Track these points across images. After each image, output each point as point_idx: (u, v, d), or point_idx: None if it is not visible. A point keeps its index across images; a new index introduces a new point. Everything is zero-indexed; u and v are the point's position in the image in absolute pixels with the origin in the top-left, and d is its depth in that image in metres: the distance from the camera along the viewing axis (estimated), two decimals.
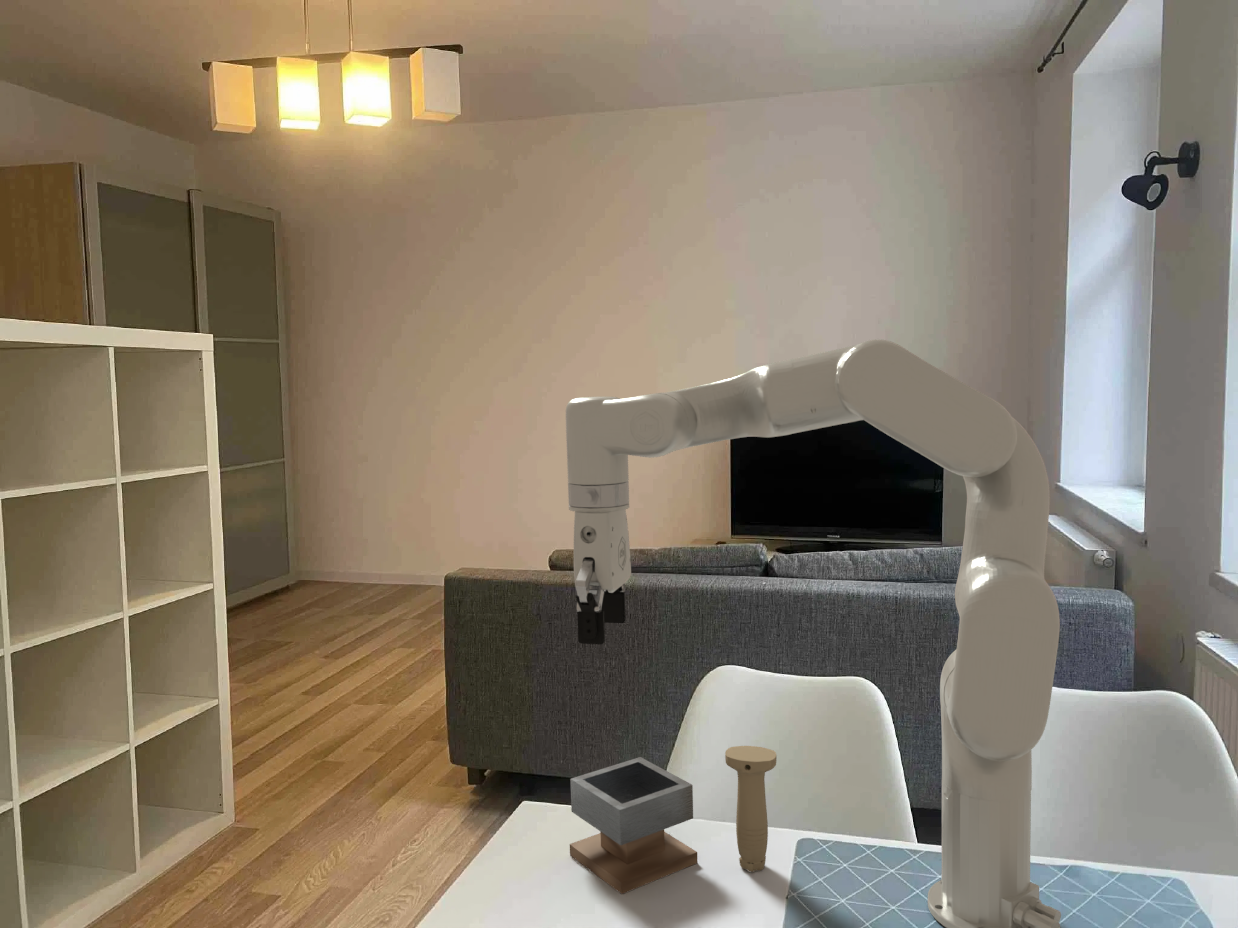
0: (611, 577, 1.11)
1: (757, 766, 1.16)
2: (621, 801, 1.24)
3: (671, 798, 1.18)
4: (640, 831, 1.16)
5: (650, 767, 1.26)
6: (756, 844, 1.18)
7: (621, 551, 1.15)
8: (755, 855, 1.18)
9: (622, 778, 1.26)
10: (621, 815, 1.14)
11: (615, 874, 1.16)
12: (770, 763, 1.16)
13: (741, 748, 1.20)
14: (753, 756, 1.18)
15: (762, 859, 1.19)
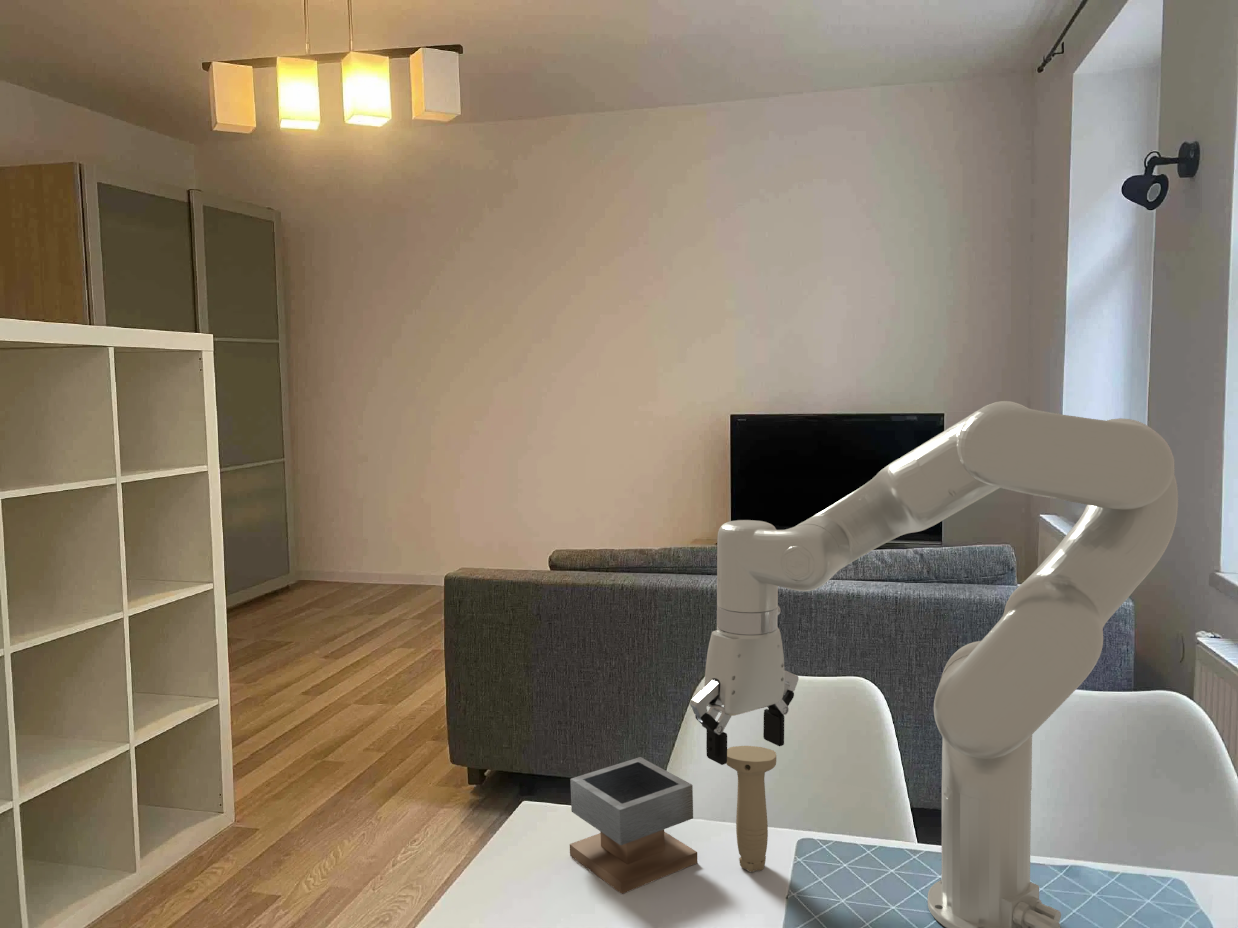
0: None
1: (757, 766, 1.16)
2: (621, 801, 1.24)
3: (671, 798, 1.18)
4: (640, 831, 1.16)
5: (650, 767, 1.26)
6: (756, 844, 1.18)
7: None
8: (755, 855, 1.18)
9: (622, 778, 1.26)
10: (621, 815, 1.14)
11: (615, 874, 1.16)
12: (770, 763, 1.16)
13: (741, 748, 1.20)
14: (753, 756, 1.18)
15: (762, 859, 1.19)
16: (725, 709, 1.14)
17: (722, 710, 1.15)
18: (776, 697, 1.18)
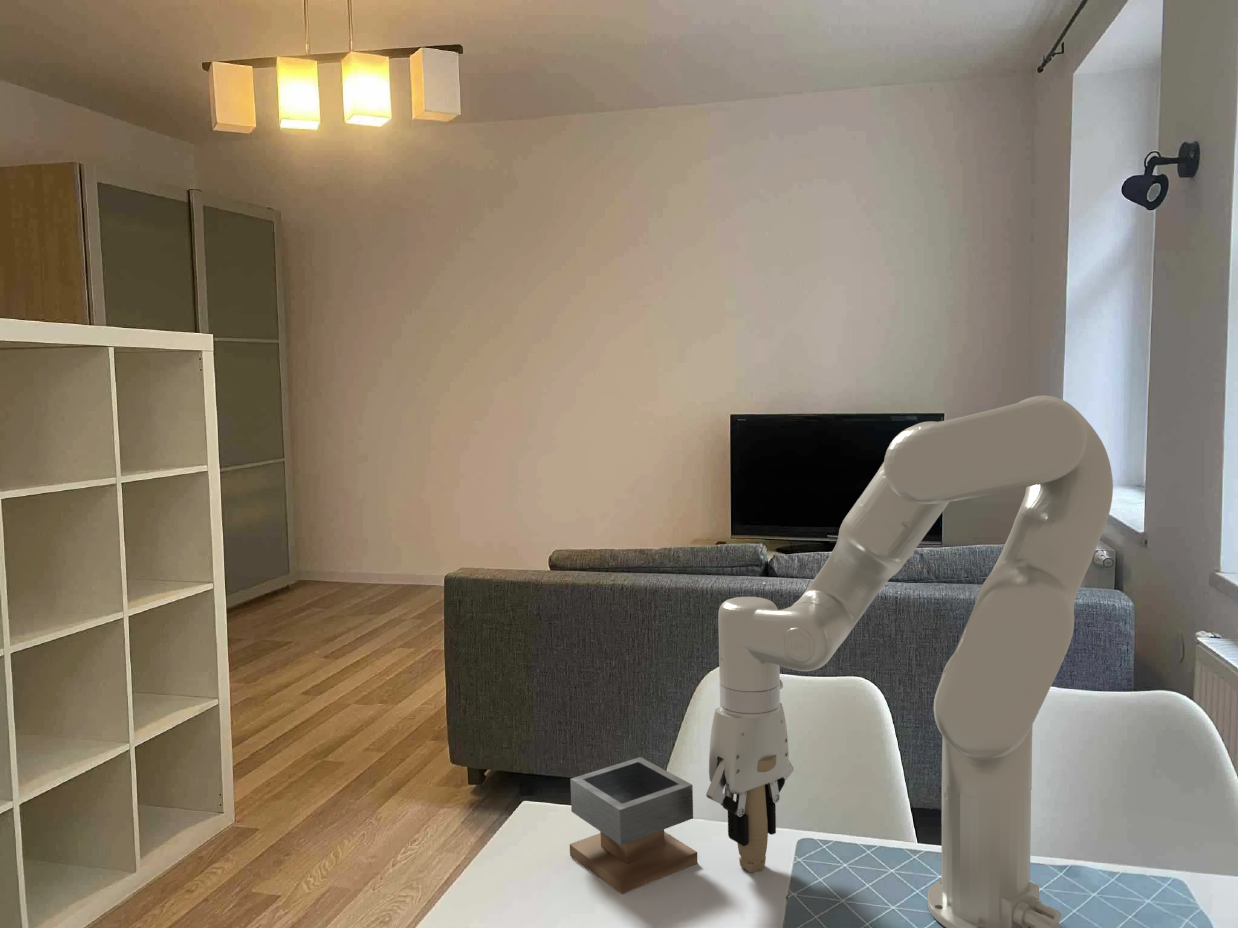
0: None
1: (757, 766, 1.16)
2: (621, 801, 1.24)
3: (671, 798, 1.18)
4: (640, 831, 1.16)
5: (650, 767, 1.26)
6: (756, 844, 1.18)
7: None
8: (755, 855, 1.18)
9: (622, 778, 1.26)
10: (621, 815, 1.14)
11: (615, 874, 1.16)
12: (770, 763, 1.16)
13: None
14: None
15: (762, 859, 1.19)
16: (730, 788, 1.15)
17: None
18: (781, 772, 1.19)
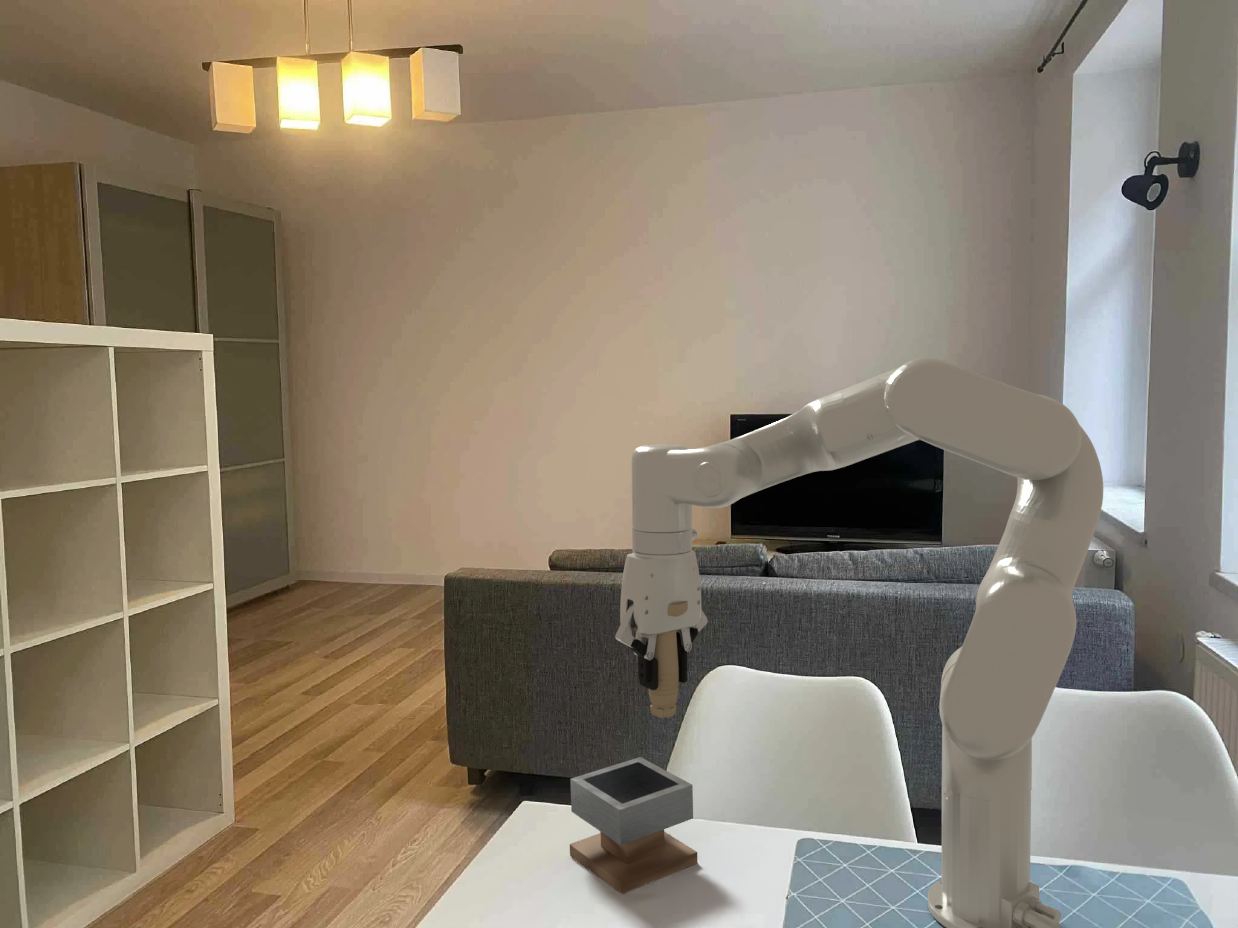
0: None
1: None
2: (621, 801, 1.24)
3: (671, 798, 1.18)
4: (640, 831, 1.16)
5: (650, 767, 1.26)
6: (666, 690, 1.18)
7: None
8: (665, 701, 1.18)
9: (622, 778, 1.26)
10: (621, 815, 1.14)
11: (615, 874, 1.16)
12: (680, 607, 1.16)
13: None
14: None
15: (672, 706, 1.19)
16: (638, 629, 1.15)
17: (646, 637, 1.17)
18: (692, 620, 1.19)
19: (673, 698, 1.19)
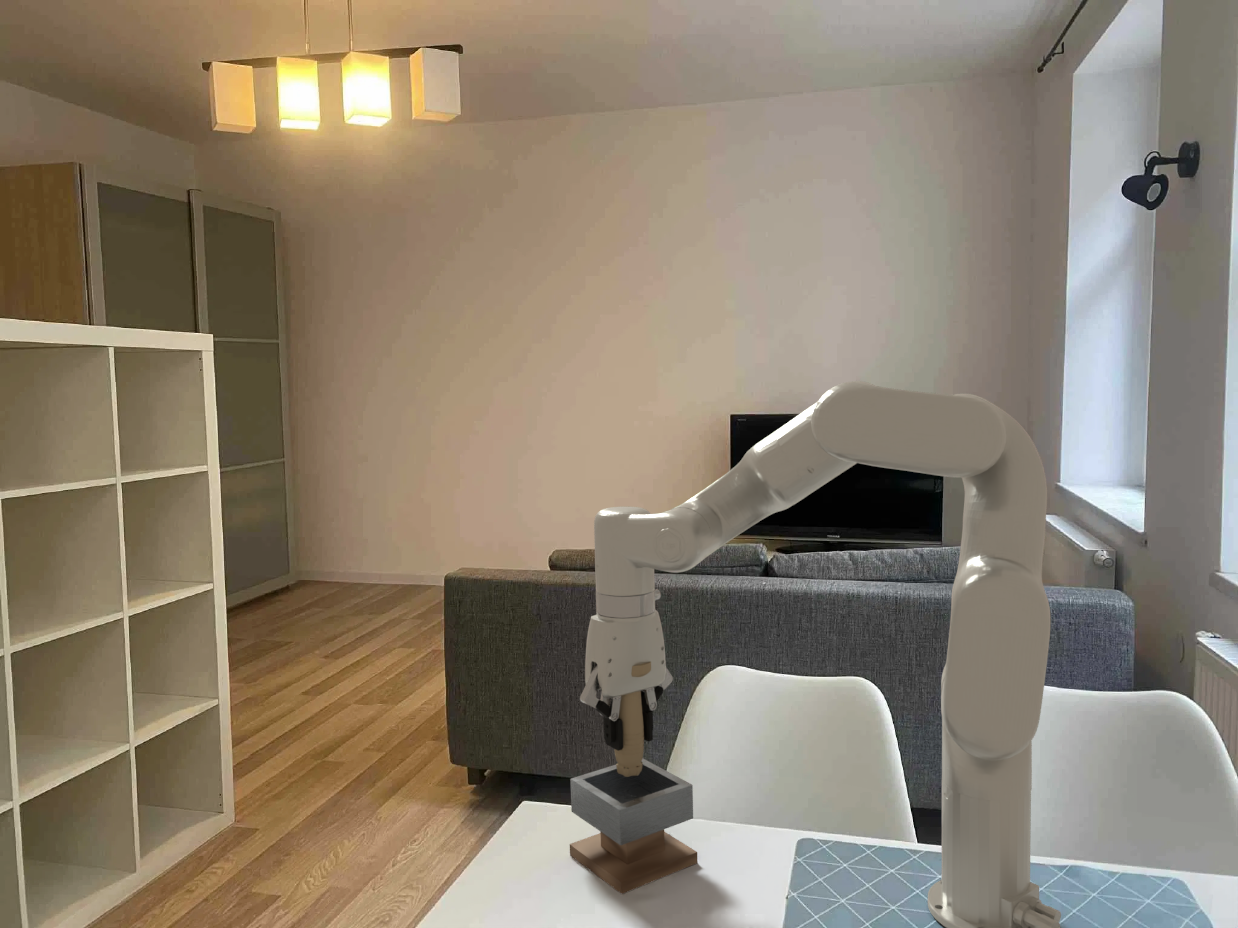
0: None
1: None
2: (621, 801, 1.24)
3: (671, 798, 1.18)
4: (640, 831, 1.16)
5: (650, 767, 1.26)
6: (631, 749, 1.19)
7: None
8: (630, 760, 1.20)
9: (622, 778, 1.26)
10: (621, 815, 1.14)
11: (615, 874, 1.16)
12: (644, 668, 1.18)
13: None
14: None
15: (638, 764, 1.20)
16: (602, 691, 1.16)
17: (610, 698, 1.18)
18: (657, 679, 1.21)
19: (638, 757, 1.20)
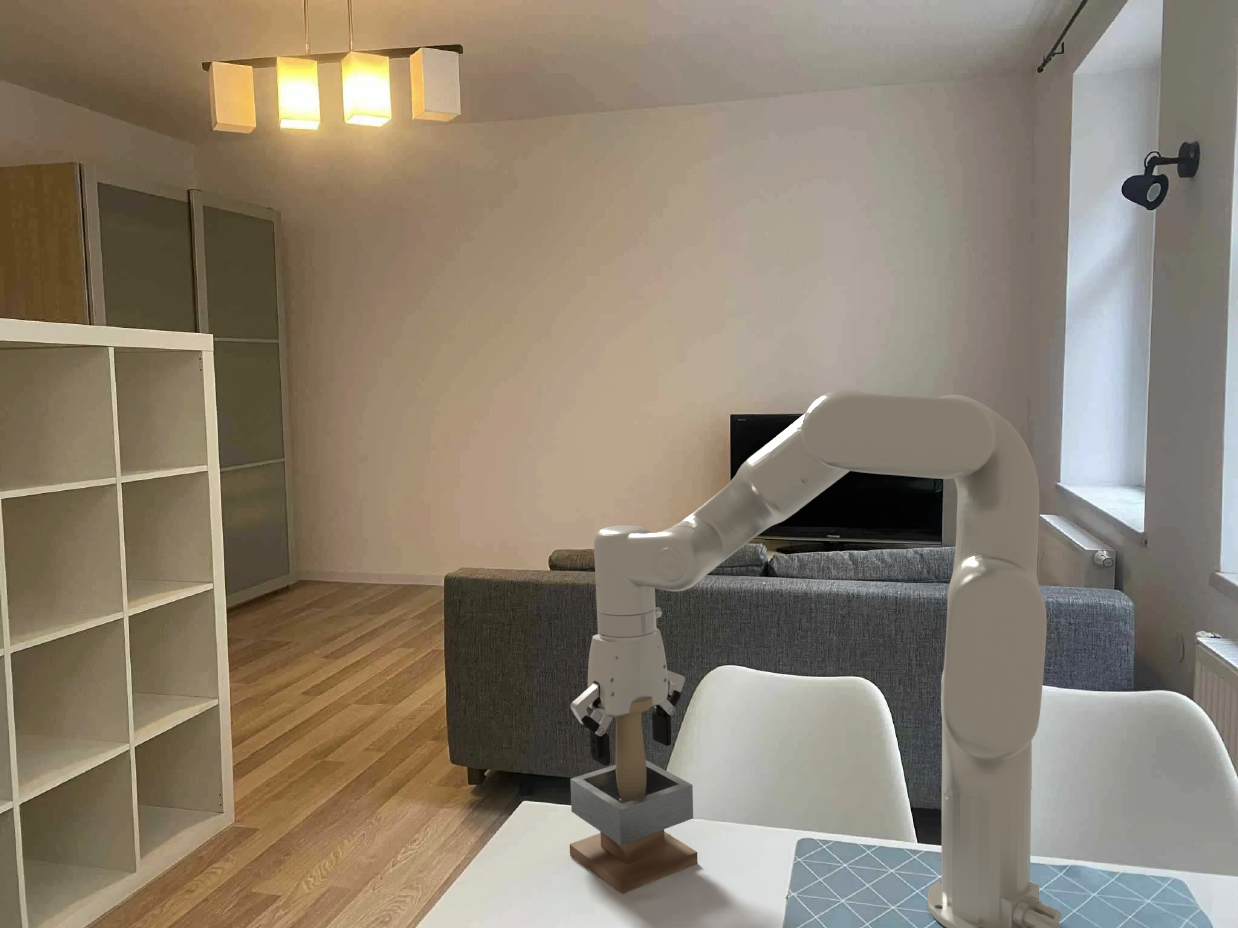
0: None
1: (631, 707, 1.18)
2: None
3: (671, 798, 1.18)
4: (640, 831, 1.16)
5: (650, 767, 1.26)
6: (634, 785, 1.20)
7: None
8: (633, 795, 1.20)
9: None
10: (621, 815, 1.14)
11: (615, 874, 1.16)
12: (645, 704, 1.18)
13: None
14: None
15: None
16: (605, 711, 1.16)
17: (603, 712, 1.17)
18: (659, 697, 1.21)
19: (641, 792, 1.20)
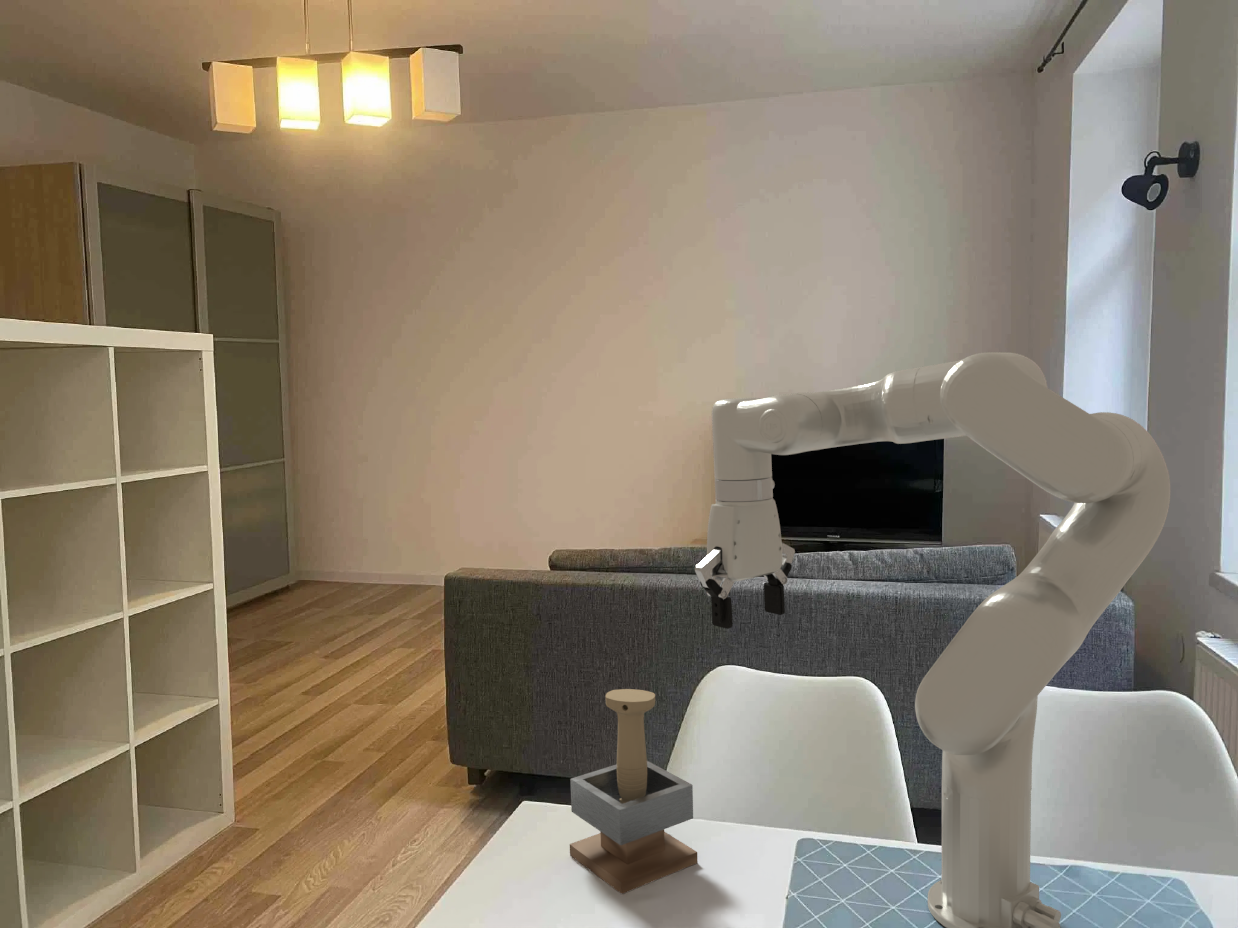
0: None
1: (634, 706, 1.18)
2: None
3: (671, 798, 1.18)
4: (640, 831, 1.16)
5: (650, 767, 1.26)
6: (635, 784, 1.20)
7: None
8: (633, 795, 1.20)
9: None
10: (621, 815, 1.14)
11: (615, 874, 1.16)
12: (647, 703, 1.18)
13: (622, 691, 1.22)
14: (632, 697, 1.20)
15: None
16: (728, 574, 1.20)
17: (725, 576, 1.20)
18: (775, 565, 1.24)
19: (642, 792, 1.20)
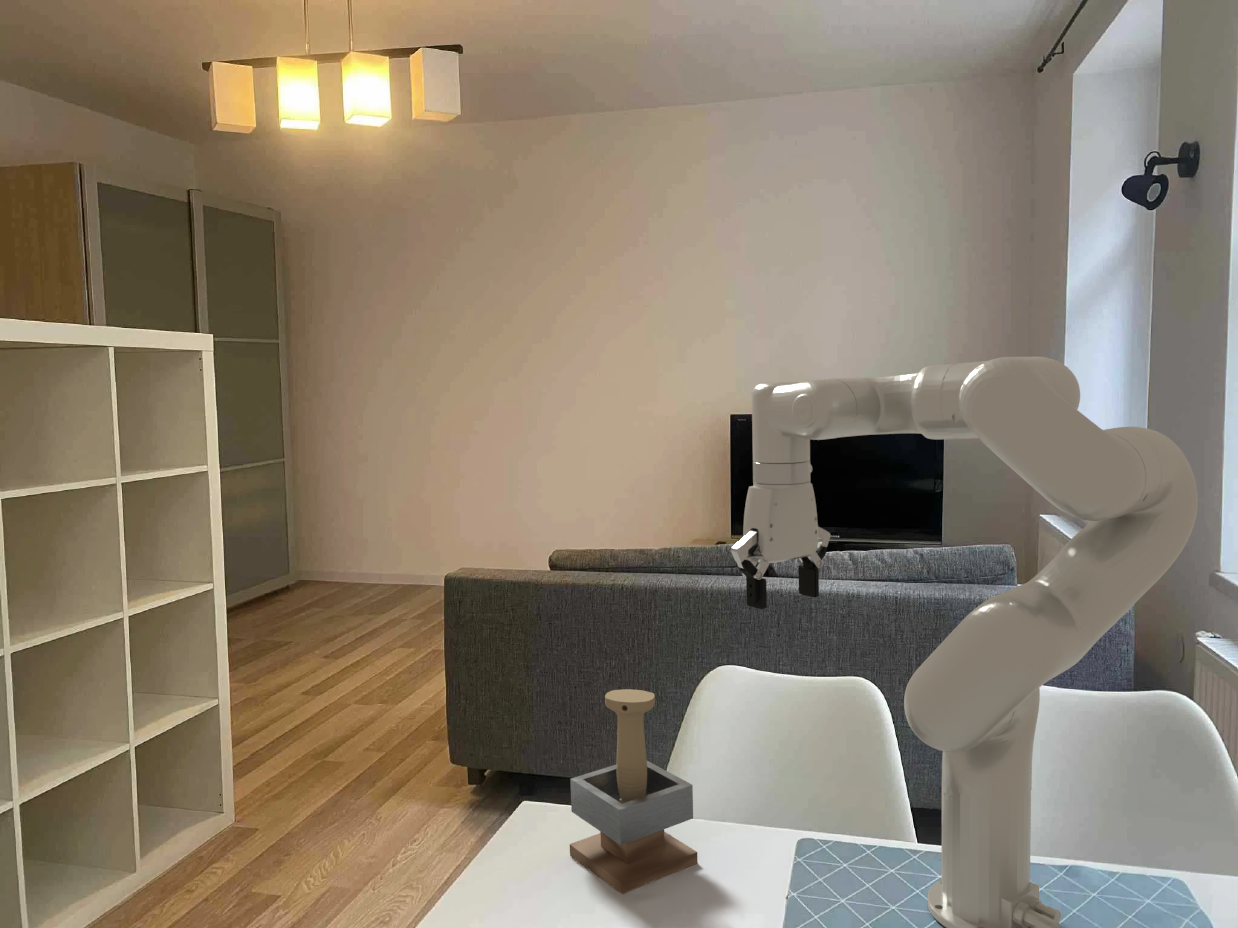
0: None
1: (634, 706, 1.18)
2: None
3: (671, 798, 1.18)
4: (640, 831, 1.16)
5: (650, 767, 1.26)
6: (634, 785, 1.20)
7: None
8: (633, 795, 1.20)
9: None
10: (621, 815, 1.14)
11: (615, 874, 1.16)
12: (647, 704, 1.18)
13: (622, 691, 1.22)
14: (632, 697, 1.20)
15: None
16: (764, 556, 1.21)
17: (761, 558, 1.22)
18: (810, 548, 1.25)
19: (641, 792, 1.20)
